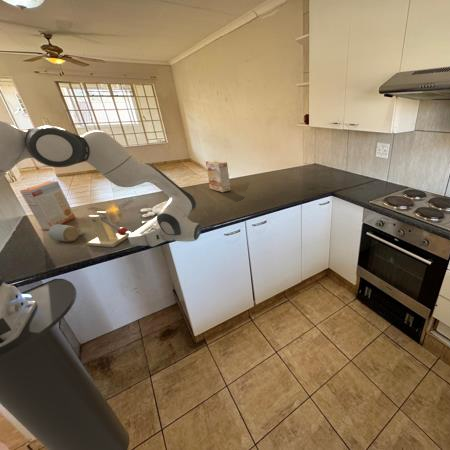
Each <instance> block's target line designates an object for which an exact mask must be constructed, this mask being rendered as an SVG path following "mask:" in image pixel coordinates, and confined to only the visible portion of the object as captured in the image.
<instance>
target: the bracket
mask: <svg viewBox="0 0 450 450" xmlns="http://www.w3.org/2000/svg"><path fill="white" fill-rule="evenodd" d="M98 213H100V214H102V215H104V216H105V218H104V219H106V220H108V221H110V222H111V223H112V220H111V218H110V215H109V213H108V212H107V211H99V210H98V211H96V214H98ZM96 214H90V215H88V219H89V222H90V223H91V225H92V227H93V230H94V232H95V234H96V237H94V238H93V239H91V240H90V241H88V242H87V244H88V246H92V247H105V248H106V247H107V248H114V247H116V246H117V245H119V244H120V243H122V242H124V241H125V240H126V239H128V236H126V235H120V234H119V233H116V229H115V228H113V227H111V226H110V225H108V224H106V223H104V222H103V221H101V218H100V216H97V215H96Z"/></svg>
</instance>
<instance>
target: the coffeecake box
mask: <svg viewBox="0 0 450 450" xmlns="http://www.w3.org/2000/svg"><path fill="white" fill-rule="evenodd" d="M205 166H206V172H207V178H208V185H209V190H213V191H216V192H221V193H225V192H229V191H231V183H230V182H231V181H230V174H229V166H228V162H227V161H222V160H216V159H211V160H206V161H205Z"/></svg>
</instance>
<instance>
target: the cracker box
mask: <svg viewBox="0 0 450 450" xmlns="http://www.w3.org/2000/svg"><path fill="white" fill-rule="evenodd" d="M19 192H20V195H21V196H22V197H23V199H24V201H25V203H26V204H27V206H28V208H29V210H30V211H31V213H32V215H33V216H34V218H35V220H36V222H37V223H38V225H39V226H40V228H41V230H49V229H50V228H51V227H52V226H53V225H56V224H62V225H65V224H66V223H68V222H71V221H72V220H74V219H76V215H75V214H74V212H73V210H72V207H71V206H70V205H71V204H70V203H69V201H68V200H67V197H66V196H65V193H64V191H63V190H62V187H61V185H60V183H59V182H58V181H56V180H55V181H49V180H48V181H44V182H42V183H38V184H35V185H33V186H29V187H27V188H24V189H23V188H22V189H20V190H19Z"/></svg>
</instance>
